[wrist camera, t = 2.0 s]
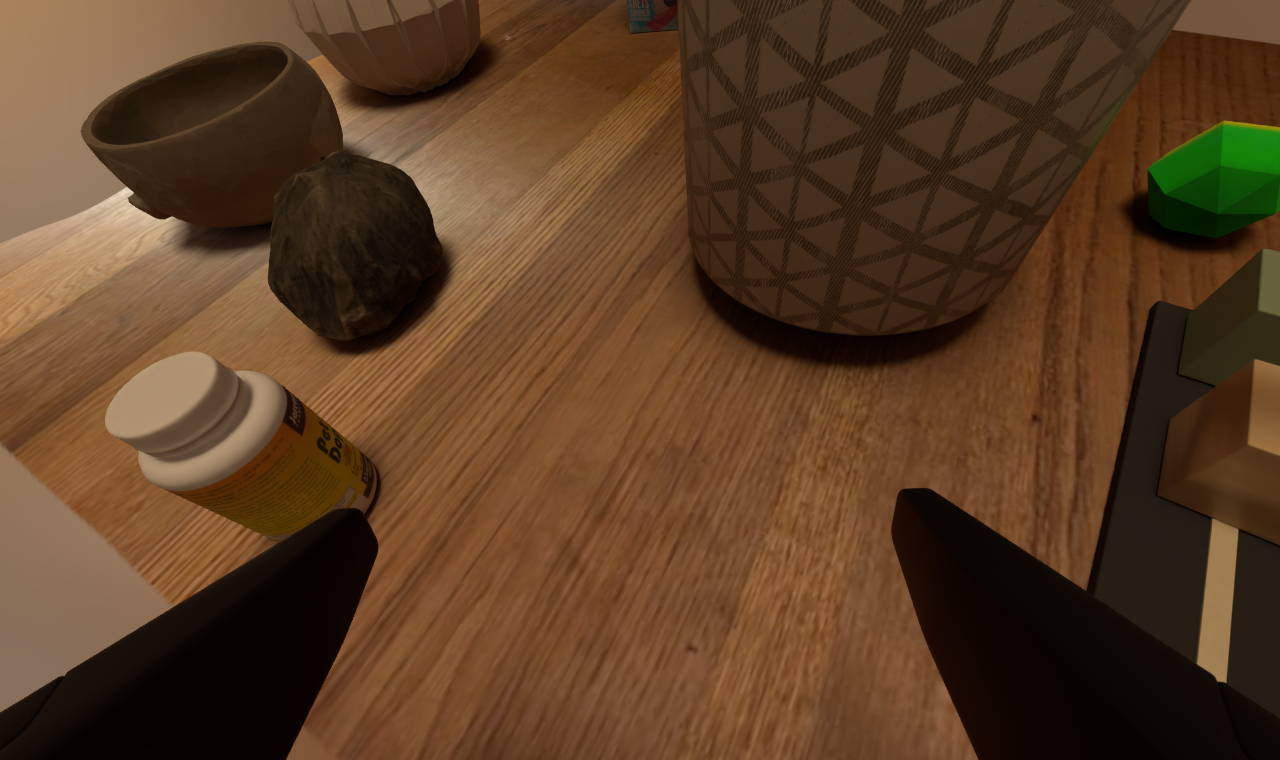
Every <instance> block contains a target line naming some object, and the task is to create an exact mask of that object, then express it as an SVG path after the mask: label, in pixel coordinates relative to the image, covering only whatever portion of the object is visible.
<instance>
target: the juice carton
mask: <svg viewBox="0 0 1280 760" xmlns="http://www.w3.org/2000/svg"><path fill="white" fill-rule="evenodd" d="M627 6H628V15H629V23H630V31H631V33H641V32H653V31H665V30H678V29H679V23H678V2H677V0H627Z"/></svg>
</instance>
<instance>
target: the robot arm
mask: <svg viewBox="0 0 1280 760" xmlns="http://www.w3.org/2000/svg"><path fill="white" fill-rule="evenodd" d="M891 533H892V540H893V544H894V547H895V550H896V553H897V556H898V559H899V562H900V565H901V568H902V572H903V575H904V578H905V581H906V584H907V587H908V590H909V593H910V596H911V599H912V602H913V605H914V608H915V611H916V615H917V618H918V621H919V624H920V626H921V629H922V632H923V635H924V638H925V640H926V643H927V645H928V647H929V650H930V652H931V655H932V657H933V659H934V661H935V664H936V666H937V668H938V670H939V672H940V675H941V677H942V679H943V681H944V684H945V686H946V688H947V690H948V693H949V695H950V697H951V699H952V701H953V704H954V706H955V708H956V710H957V713H958V715H959V717H960V719H961V722H962V724H963V726H964V728H965V730H966V733H967V735H968V737H969V739H970V742H971V744H972V746H973V748H974V751H975V753H976V755H977V757H978V759H979V760H1280V718H1279V717H1277V716H1276V715H1274V714H1273V713H1271V712H1270V711H1268V710H1267V709H1265V708H1264V707H1262V706H1260V705H1259V704H1257V703H1256V702H1254V701H1253V700H1251V699H1250V698H1248V697H1247V696H1245V695H1244V694H1242V693H1241V692H1239V691H1238V690H1236V689H1235V688H1233V687H1232V686H1230V685H1229V684H1227V683H1225V682H1217V679H1216V677H1215V676H1214V675H1213V674H1211V673H1210V672H1208V671H1207V670H1205V669H1204V668H1202V667H1201V666H1199V665H1198V664H1196V663H1195V662H1193V661H1192V660H1190V659H1189V658H1187V657H1186V656H1184V655H1182V654H1181V653H1179V652H1178V651H1176V650H1175V649H1173V648H1172V647H1170V646H1169V645H1167V644H1166V643H1164V642H1163V641H1161V640H1160V639H1158V638H1157V637H1155V636H1154V635H1152V634H1151V633H1149V632H1148V631H1146V630H1144V629H1143V628H1141V627H1140V626H1138V625H1137V624H1135V623H1134V622H1132V621H1131V620H1129V619H1128V618H1126V617H1125V616H1123V615H1122V614H1120V613H1119V612H1117V611H1116V610H1114V609H1113V608H1111V607H1109V606H1108V605H1106V604H1105V603H1103V602H1102V601H1100V600H1099V599H1097V598H1096V597H1094V596H1093V595H1091V594H1090V593H1088V592H1087V591H1085V590H1084V589H1082V588H1081V587H1079V586H1078V585H1076V584H1075V583H1073V582H1071V581H1070V580H1068V579H1067V578H1065V577H1064V576H1062V575H1061V574H1059V573H1058V572H1056V571H1055V570H1053V569H1052V568H1050V567H1049V566H1047V565H1046V564H1044V563H1043V562H1041V561H1040V560H1038V559H1036V558H1035V557H1033V556H1032V555H1030V554H1029V553H1027V552H1026V551H1024V550H1023V549H1021V548H1020V547H1018V546H1017V545H1015V544H1014V543H1012V542H1011V541H1009V540H1008V539H1006V538H1005V537H1003V536H1001V535H1000V534H998V533H997V532H995V531H994V530H992V529H991V528H989V527H988V526H986V525H985V524H983V523H982V522H980V521H979V520H977V519H976V518H974V517H973V516H971V515H970V514H968V513H967V512H965V511H963V510H962V509H960V508H959V507H957V506H956V505H954V504H953V503H951V502H950V501H948V500H947V499H945V498H944V497H942V496H941V495H939V494H938V493H936V492H935V491H933V490H931V489H928V488H909V489H903V490H901V491H900V492H899V493H898V496H897V501H896V506H895V511H894V516H893V521H892V527H891ZM377 553H378V541H377V538H376V536H375V534H374V532H373V530H372V528H371V526H370V524H369V522H368V521H367V519H366V517H365V515H364V513H363V512H362V511H361V510H360V509H357V508H339V509H334V510H332V511H330V512H328V513H327V514H325V515H323V516H322V517H320V518H319V519H317V520H315V521H314V522H312V523H310V524H309V525H307V526H305V527H304V528H302V529H301V530H299V531H297V532H296V533H294V534H292V535H291V536H289V537H287V538H286V539H284V540H283V541H281V542H279V543H278V544H276V545H274V546H273V547H271V548H269V549H268V550H266V551H265V552H263V553H261V554H260V555H258V556H256V557H255V558H253V559H251V560H250V561H248V562H247V563H245V564H243V565H242V566H240V567H238V568H237V569H235V570H233V571H232V572H230V573H229V574H227V575H225V576H224V577H222V578H220V579H219V580H217V581H215V582H214V583H212V584H211V585H209V586H207V587H206V588H204V589H202V590H201V591H199V592H197V593H196V594H194V595H192V596H191V597H189V598H188V599H186V600H184V601H183V602H181V603H179V604H178V605H176V606H174V607H173V608H171V609H170V610H168V611H166V612H165V613H163V614H162V615H160V616H158V617H157V618H155V619H153V620H152V621H150V622H148V623H147V624H145V625H143V626H142V627H140V628H138V629H137V630H135V631H134V632H132V633H130V634H129V635H127V636H126V637H124V638H122V639H120V640H119V641H117V642H116V643H114V644H112V645H111V646H109V647H107V648H106V649H104V650H102V651H101V652H99V653H98V654H96V655H94V656H93V657H91V658H89V659H88V660H86V661H84V662H83V663H81V664H80V665H78V666H76V667H75V668H73V669H71V670H70V671H68V672H67V674H66V675H65V676H60V677H58V678H56V679H55V680H53V681H51V682H50V683H48V684H46V685H45V686H43V687H42V688H40V689H38V690H37V691H35V692H33V693H32V694H30V695H29V696H27V697H25V698H24V699H22V700H21V701H19V702H17V703H15V704H14V705H12V706H10V707H9V708H7V709H5V710H4V711H2V712H0V760H286V759H287V757H288V754H289V753H290V751H291V748H292V746H293V744H294V742H295V740H296V738H297V736H298V734H299V732H300V730H301V728H302V726H303V724H304V722H305V720H306V718H307V716H308V714H309V712H310V710H311V708H312V706H313V704H314V702H315V700H316V698H317V695H318V693H319V691H320V689H321V687H322V685H323V683H324V681H325V679H326V677H327V675H328V673H329V671H330V669H331V667H332V665H333V663H334V661H335V659H336V657H337V655H338V653H339V650H340V648H341V646H342V644H343V642H344V639H345V637H346V635H347V632H348V630H349V627H350V625H351V622H352V620H353V617H354V614H355V612H356V609H357V607H358V604H359V601H360V599H361V596H362V593H363V591H364V588H365V586H366V583H367V580H368V578H369V575H370V573H371V570H372V567H373V565H374V562H375V559H376V557H377Z"/></svg>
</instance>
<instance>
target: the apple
mask: <svg viewBox="0 0 1280 760" xmlns="http://www.w3.org/2000/svg"><path fill="white" fill-rule="evenodd" d="M1279 210H1280V127H1272V126H1264V125H1255V124H1247V123H1239V122H1231V121H1222V122H1220V123H1219V124H1217V125H1215V126H1213V127H1212V128H1210V129H1208V130H1206V131H1205V132H1203V133H1201V134H1199V135H1197V136H1196V137H1194V138H1192V139H1190V140H1189V141H1187V142H1185V143H1183V144H1182V145H1180V146H1178V147H1176V148H1175V149H1173V150H1171V151H1170V152H1168V153H1167V154H1166V155H1165V156H1163V157H1162V158H1161V159H1159V160H1158V161H1157V162H1155V163H1154V164H1153V165H1151V166H1150V167H1149V168H1148V212H1149V216H1150V217H1152V218H1153V219H1154V220H1155V221H1156V222H1158V223H1159V224H1160V225H1161V226H1163V227H1164V228H1166V229H1171V230H1176V231H1181V232H1186V233H1191V234H1196V235H1201V236H1206V237H1211V238H1218V237H1221V236H1223V235H1226V234H1228V233H1230V232H1233V231H1235V230H1238V229H1240V228H1242V227H1245V226H1247V225H1250V224H1252V223H1255V222H1257V221H1259V220H1262V219H1264V218H1267V217H1269V216H1271V215H1274V214H1276V213H1277V212H1278V211H1279Z"/></svg>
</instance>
